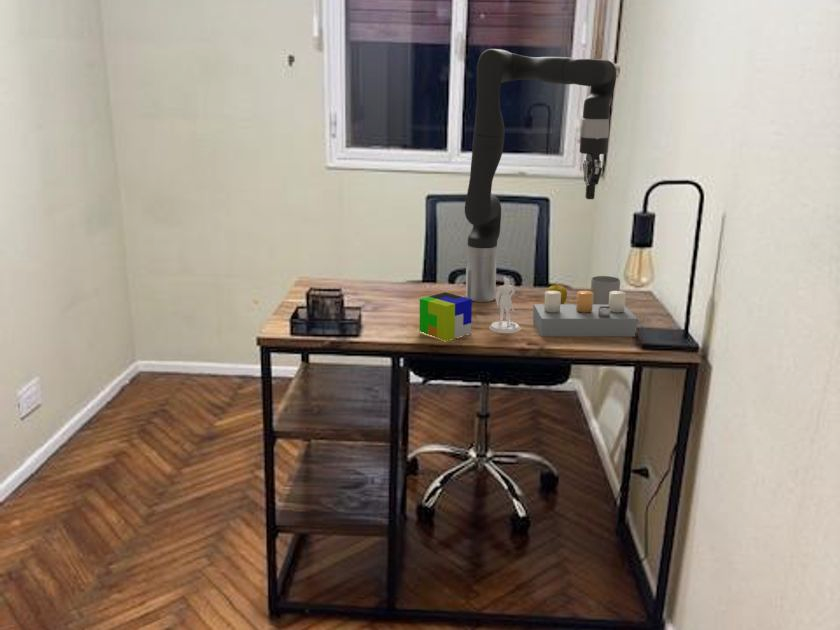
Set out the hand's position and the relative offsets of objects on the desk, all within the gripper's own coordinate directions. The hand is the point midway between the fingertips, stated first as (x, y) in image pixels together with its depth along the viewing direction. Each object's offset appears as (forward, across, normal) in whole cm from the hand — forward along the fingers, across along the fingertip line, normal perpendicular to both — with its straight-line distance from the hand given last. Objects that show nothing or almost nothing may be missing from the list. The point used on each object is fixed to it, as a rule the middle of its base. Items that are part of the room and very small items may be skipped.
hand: (589, 198), depth 213 cm
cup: (+35, -6, +8) cm, 37 cm away
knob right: (+33, +11, +7) cm, 36 cm away
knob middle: (+34, +11, -2) cm, 35 cm away
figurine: (+35, +11, -24) cm, 44 cm away
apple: (+35, -9, -6) cm, 37 cm away
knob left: (+34, +11, -11) cm, 37 cm away
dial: (+30, +15, +3) cm, 34 cm away
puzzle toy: (+35, +16, -41) cm, 56 cm away
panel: (+35, +11, -2) cm, 37 cm away
